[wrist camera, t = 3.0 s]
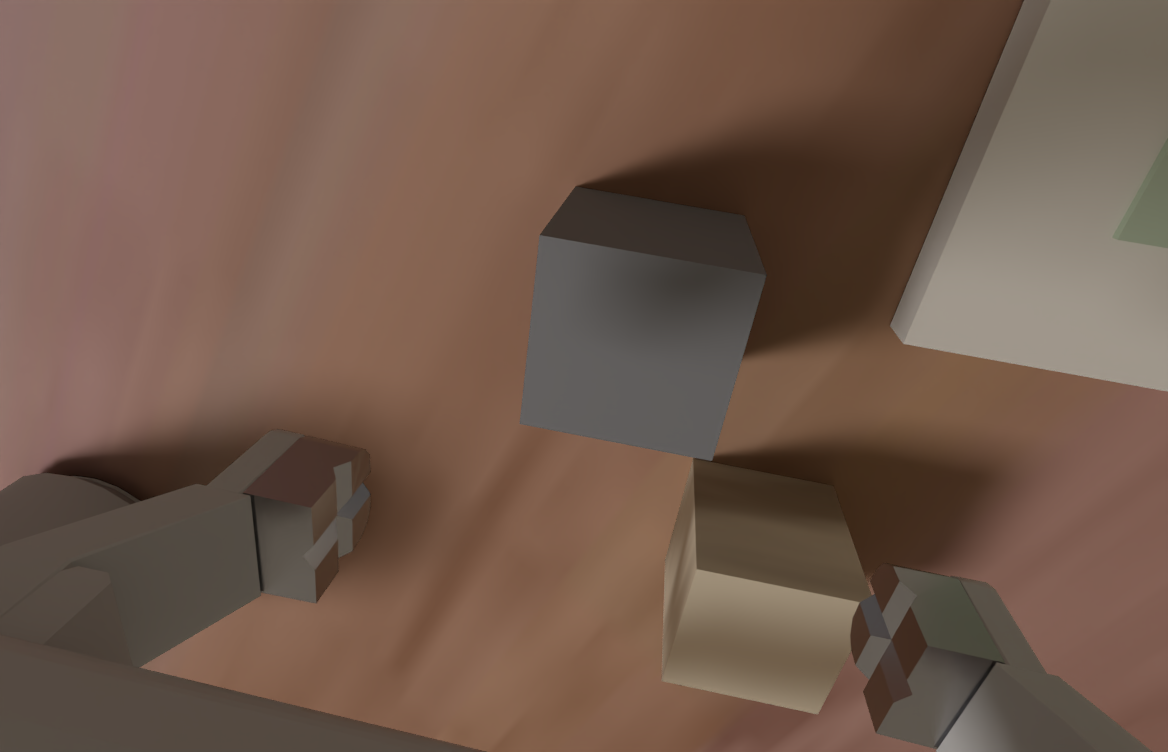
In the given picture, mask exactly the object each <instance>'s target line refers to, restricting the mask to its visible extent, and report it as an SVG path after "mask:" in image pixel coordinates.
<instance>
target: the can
mask: <svg viewBox="0 0 1168 752" xmlns="http://www.w3.org/2000/svg"><path fill="white" fill-rule="evenodd" d="M137 502H140V500H138V499H136V498H135V497H133V496H132V495H130V494H128V493H127V492H125V491H124V490H122V489H120V488H119V487H116V486H114V485H111V484H108V483H106V482H103V481H101V480H98V479H94V478H87V477H80V476H65V475H58V474H51V473H41V474H35V475H29V476H23V477H21V478H20V479H18V480H17V481H15V482H14V483H12V484H11V485H9V486H8V487H6V488H5V489H3V490H1V491H0V546H2V545H4V544H7V543H11V542H14V541H17V540H20V539H23V538H26V537H30V536H33V535H36V534H39V533H42V532H45V531H49V530H52V529H55V528H58V527H61V526H64V525H67V524H71V523H74V522H77V521H80V520H83V519H86V518H90V517H93V516H96V515H99V514H102V513H105V512H109V511H112V510H115V509H118V508H121V507H124V506H127V505H131V504H134V503H137Z"/></svg>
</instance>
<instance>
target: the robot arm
mask: <svg viewBox="0 0 1168 752" xmlns="http://www.w3.org/2000/svg"><path fill="white" fill-rule="evenodd" d="M370 472H371V465H370V454H369V453H368V452H367V451H366V449H362V448H357V447H353V446H349V445H345V444H341V443H337V442H333V441H328V440H324V439H320V438H316V437H312V436H305V435H302V434H298V433H294V432H289V431H285V430H280V429H277V430H272V431H269V432H268V433H267V434H265V435H264V436H263V437H262V438H261V439H260V440H258V441H257V442H256V443H255V444H254V445H253V446H251V447H250V448H249V449H248V450H247V451H246V452H245V453H243V454H242V455H241V456H240V457H239V458H238V459H236V460H235V461H234V462H233V463H232V464H231V465H229V466H228V467H227V468H226V469H225V470H224V471H223V472H221V473H220V474H219V475H218V476H217V477H216V478H214V479H213V480H212V481H211V482H210V483H209V484H207V485H206V486H205V485H200V484H194V485H191V486H187V487H184V488H181V489H178V490H175V491H172V492H169V493H165V494H162V495H159V496H156V497H153V498H150V499H146V500H143V501H140V502H137V503H134V504H131V505H127V506H124V507H121V508H118V509H115V510H112V511H109V512H105V513H102V514H99V515H96V516H93V517H90V518H86V519H83V520H80V521H77V522H74V523H71V524H67V525H64V526H61V527H58V528H55V529H52V530H49V531H45V532H42V533H39V534H36V535H33V536H30V537H26V538H23V539H20V540H17V541H14V542H11V543H7V544H4V545H2V546H0V752H486V751H482V750H478V749H474V748H470V747H465V746H461V745H457V744H453V743H449V742H445V741H441V740H437V739H432V738H428V737H424V736H420V735H416V734H412V733H408V732H403V731H399V730H395V729H391V728H387V727H383V726H379V725H374V724H370V723H366V722H362V721H358V720H354V719H350V718H345V717H341V716H337V715H333V714H329V713H325V712H321V711H316V710H312V709H308V708H304V707H300V706H296V705H292V704H287V703H283V702H279V701H275V700H271V699H267V698H263V697H258V696H254V695H250V694H246V693H242V692H238V691H234V690H229V689H225V688H221V687H217V686H213V685H209V684H205V683H200V682H196V681H192V680H188V679H184V678H180V677H176V676H171V675H167V674H163V673H159V672H155V671H151V670H147V669H142V668H139V667H141V666H143V665H144V664H146V663H148V662H149V661H151V660H153V659H155V658H156V657H158V656H160V655H161V654H163V653H165V652H166V651H168V650H170V649H171V648H173V647H175V646H177V645H178V644H180V643H182V642H183V641H185V640H187V639H188V638H190V637H192V636H193V635H195V634H197V633H198V632H200V631H202V630H204V629H205V628H207V627H209V626H210V625H212V624H214V623H215V622H217V621H219V620H220V619H222V618H224V617H225V616H227V615H229V614H231V613H232V612H234V611H236V610H237V609H239V608H241V607H242V606H244V605H246V604H247V603H249V602H251V601H252V600H254V599H256V598H258V597H259V596H261V592H262V593H267V594H272V595H277V596H282V597H287V598H292V599H297V600H302V601H307V602H311V603H317V602H318V600H319V599H320V597H321V596H322V595H323V593H324V592H325V590H326V589H327V587H328V586H329V585H330V583H331V582H332V580H333V579H334V577H335V576H336V574H337V573H338V572H339V565H338V558H339V557H341V556H343V555H345V554H347V553H350V552H352V551H353V550H354V548H355V547H356V545H357V543H358V542H359V540H360V539H361V537H362V534H363V532H364V529H365V527H366V524H367V522H368V518H369V512H370V505H371V494H370V493H369V491H368V490H367V488H366V487H365V485H364V484H363V481H364V480H365V479H366V477H367V476H368V475H369V473H370ZM870 582H871V585H872V588H873V590H874V593H875V594H874V595H872V596H870V597H868V598H867V599H865V600H863V601H861V602H860V603H859V605H858V607H857V609H856V612H855V614H854V616H853V618H852V626H851V633H850V641H851V651H852V655H853V658H854V662H855V665H856V666H857V667H858V668H859V669H860V671H861V672H862V673H863V674H864V675H865V676H866V677H867V678H868V679H869V681H868V683H867V685H866V687H865V689H864V691H863V693H864V696H865V699H866V703H867V706H868V709H869V713H870V716H871V719H872V722H873V726H874V729H875V732H876V733H877V734H880V735H884V736H888V737H892V738H896V739H900V740H903V741H907V742H911V743H915V744H919V745H923V746H927V747H930V748H934V749H937V750H936V752H1152V751H1151V750H1150V749H1148V748H1147V747H1146V746H1145V745H1143V744H1142V743H1141V742H1140V741H1138V740H1137V739H1136V738H1135V737H1133V736H1132V735H1131V734H1130V733H1128V732H1127V731H1126V730H1125V729H1123V728H1122V727H1121V726H1120V725H1118V724H1117V723H1116V722H1115V721H1113V720H1112V719H1111V718H1110V717H1108V716H1107V715H1106V714H1105V713H1103V712H1102V711H1101V710H1100V709H1098V708H1097V707H1096V706H1095V705H1093V704H1092V703H1091V702H1090V701H1088V700H1087V699H1086V698H1085V697H1083V696H1082V695H1081V694H1080V693H1078V692H1077V691H1076V690H1075V689H1073V688H1072V687H1071V686H1070V685H1068V684H1067V683H1066V682H1065V681H1063V680H1062V679H1061V678H1060V677H1058V676H1054V675H1050V674H1047V673H1046V671H1045V670H1044V668H1043V667H1042V665H1041V663H1040V662H1039V660H1038V658H1037V657H1036V655H1035V653H1034V652H1033V650H1032V649H1031V647H1030V645H1029V644H1028V642H1027V640H1026V639H1025V637H1024V636H1023V634H1022V632H1021V631H1020V629H1019V627H1018V626H1017V624H1016V623H1015V621H1014V619H1013V618H1012V616H1011V614H1010V613H1009V611H1008V610H1007V608H1006V606H1005V605H1004V603H1003V601H1002V600H1001V598H1000V596H999V595H998V593H997V592H996V590H995V589H994V588H993V587H992V586H990V585H989V584H988V583H986V582H981V581H976V580H971V579H966V578H961V577H955V576H950V577H949V576H945V575H940V574H936V573H931V572H926V571H921V570H917V569H912V568H907V567H903V566H898V565H893V564H889V563H883V564H882V565H881V566H879V567H878V568H877V569H876V571H875V573H874V575H873V577H872V579H871V581H870Z"/></svg>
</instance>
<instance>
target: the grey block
mask: <svg viewBox="0 0 1168 752" xmlns="http://www.w3.org/2000/svg"><path fill="white" fill-rule="evenodd" d="M766 276H767V275H766V272H765V269H764V267H763V264H762V261H761V259H760V256H759V253H758V251H757V248H756V245H755V243H754V240H753V237H752V235H751V232H750V229H749V227H748V224H747V221H746V219H745V216H744V215H738V214H733V213H727V212H721V211H715V210H709V209H704V208H698V207H692V206H686V205H680V204H675V203H669V202H663V201H657V200H651V199H645V198H640V197H634V196H628V195H622V194H616V193H611V192H605V191H599V190H593V189H587V188H582V187H575V188H574V189H573V191H572V192H571V193H570V195H569V196H568V197H567V199H566V200H565V202H564V203H563V204H562V206H561V207H560V208H559V210H558V211H557V212H556V214H555V215H554V216H553V218H552V219H551V220H550V222H549V223H548V225H547V226H546V227H545V229H544V230H543V231H542V233H541V234H540V237H539V246H538V256H537V265H536V275H535V284H534V294H533V303H532V313H531V322H530V332H529V341H528V351H527V360H526V370H525V379H524V389H523V398H522V407H521V417H520V424H523V425H528V426H533V427H539V428H544V429H549V430H554V431H559V432H564V433H570V434H575V435H580V436H585V437H590V438H595V439H601V440H606V441H611V442H616V443H621V444H626V445H632V446H637V447H642V448H647V449H652V450H657V451H663V452H668V453H673V454H678V455H683V456H688V457H694V458H699V459H704V460H709V461H712V459H713V456H714V452H715V449H716V446H717V442H718V439H719V435H720V432H721V429H722V425H723V422H724V419H725V415H726V412H727V408H728V405H729V402H730V398H731V395H732V391H733V388H734V385H735V381H736V378H737V374H738V371H739V368H740V364H741V361H742V357H743V354H744V351H745V347H746V344H747V340H748V337H749V334H750V330H751V327H752V323H753V320H754V317H755V313H756V310H757V306H758V303H759V300H760V296H761V293H762V289H763V286H764V283H765V279H766Z"/></svg>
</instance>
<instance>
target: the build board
mask: <svg viewBox="0 0 1168 752" xmlns="http://www.w3.org/2000/svg"><path fill="white" fill-rule="evenodd" d="M890 326H891V328H892V329H893V331H894V332H895V333H896V335H897V336H898V337H899V339H900V340H901V341H902V343H903V344H908V345H913V346H919V347H924V348H930V349H935V350H941V351H946V352H952V353H957V354H963V355H969V356H974V357H980V358H985V359H991V360H996V361H1002V362H1007V363H1013V364H1018V365H1024V366H1030V367H1035V368H1041V369H1046V370H1052V371H1057V372H1063V373H1068V374H1074V375H1079V376H1085V377H1091V378H1096V379H1102V380H1107V381H1113V382H1118V383H1124V384H1129V385H1135V386H1140V387H1146V388H1151V389H1157V390H1163V391H1168V0H1024V1H1023V4H1022V6H1021V9H1020V11H1019V14H1018V16H1017V18H1016V21H1015V23H1014V26H1013V28H1012V31H1011V33H1010V35H1009V38H1008V40H1007V43H1006V45H1005V48H1004V50H1003V52H1002V55H1001V57H1000V60H999V62H998V65H997V67H996V69H995V72H994V74H993V77H992V79H991V82H990V84H989V86H988V89H987V91H986V94H985V96H984V99H983V101H982V103H981V106H980V108H979V111H978V113H977V116H976V118H975V120H974V123H973V125H972V128H971V130H970V133H969V135H968V137H967V140H966V142H965V145H964V147H963V150H962V152H961V154H960V157H959V159H958V162H957V164H956V167H955V169H954V171H953V174H952V176H951V179H950V181H949V184H948V186H947V188H946V191H945V193H944V196H943V198H942V201H941V203H940V205H939V208H938V210H937V213H936V215H935V218H934V220H933V223H932V225H931V227H930V230H929V232H928V235H927V237H926V240H925V242H924V244H923V247H922V249H921V252H920V254H919V257H918V259H917V261H916V264H915V266H914V269H913V271H912V274H911V276H910V278H909V281H908V283H907V286H906V288H905V291H904V293H903V295H902V298H901V300H900V303H899V305H898V308H897V310H896V312H895V315H894V317H893V320H892V322H891V325H890Z"/></svg>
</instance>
